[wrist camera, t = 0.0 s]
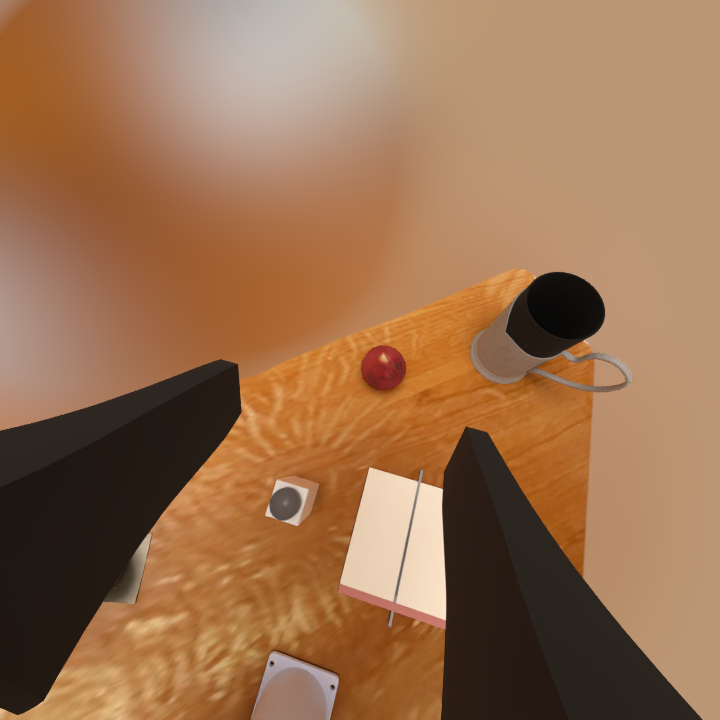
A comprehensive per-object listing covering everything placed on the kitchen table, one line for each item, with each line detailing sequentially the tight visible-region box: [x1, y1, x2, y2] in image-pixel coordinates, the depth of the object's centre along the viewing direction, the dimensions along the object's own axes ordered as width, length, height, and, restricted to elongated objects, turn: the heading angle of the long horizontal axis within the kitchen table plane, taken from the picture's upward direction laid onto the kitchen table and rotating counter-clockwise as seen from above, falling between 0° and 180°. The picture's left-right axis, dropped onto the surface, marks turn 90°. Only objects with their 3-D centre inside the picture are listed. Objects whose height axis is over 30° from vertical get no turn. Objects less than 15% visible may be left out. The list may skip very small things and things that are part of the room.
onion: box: [361, 345, 406, 390], centre depth 39 cm, size 6×6×8 cm
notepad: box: [338, 467, 446, 629], centre depth 36 cm, size 17×13×1 cm
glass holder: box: [470, 272, 632, 392], centre depth 36 cm, size 9×14×15 cm, turn 41°
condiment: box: [104, 534, 152, 604], centre depth 31 cm, size 7×8×12 cm
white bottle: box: [265, 475, 320, 526], centre depth 34 cm, size 4×4×9 cm
